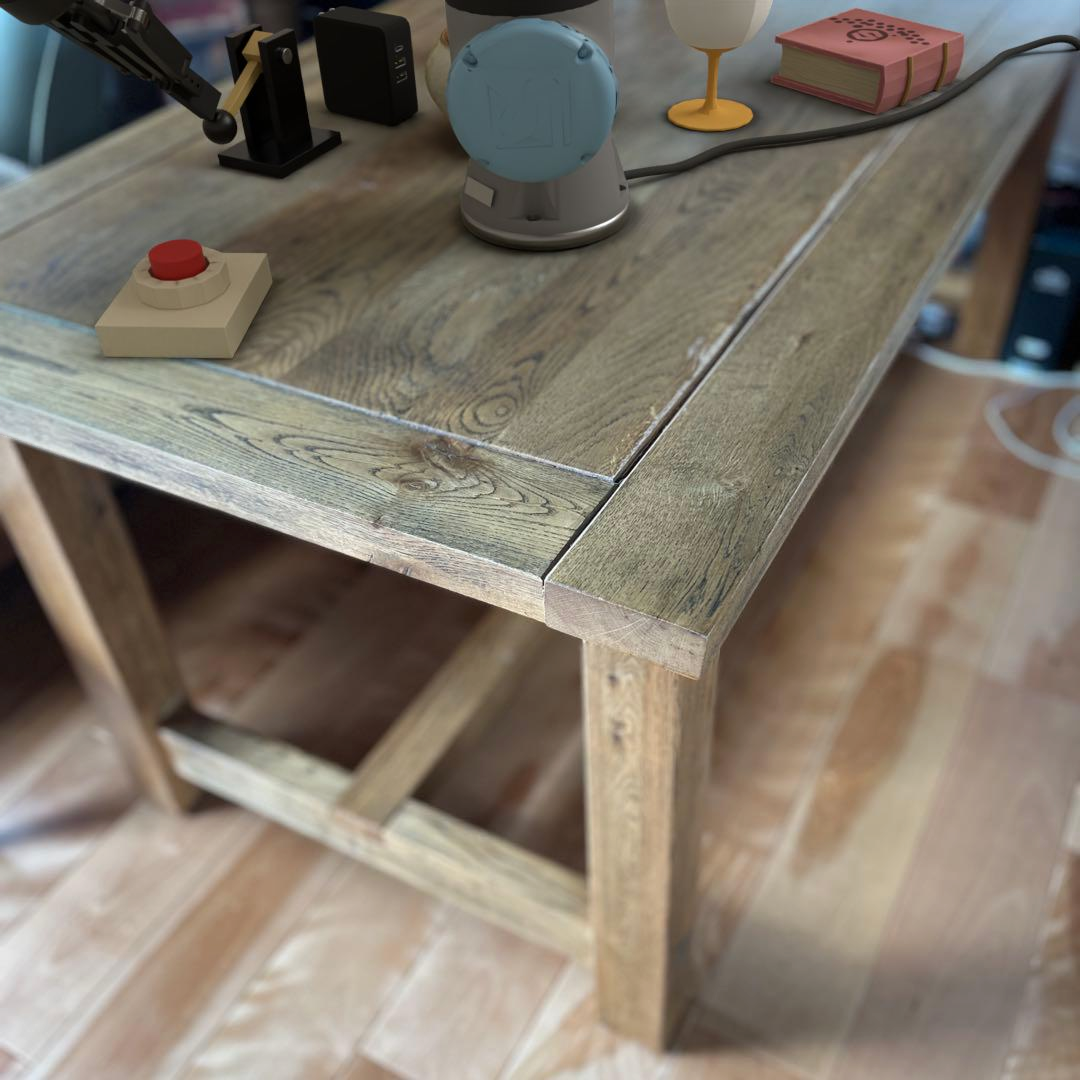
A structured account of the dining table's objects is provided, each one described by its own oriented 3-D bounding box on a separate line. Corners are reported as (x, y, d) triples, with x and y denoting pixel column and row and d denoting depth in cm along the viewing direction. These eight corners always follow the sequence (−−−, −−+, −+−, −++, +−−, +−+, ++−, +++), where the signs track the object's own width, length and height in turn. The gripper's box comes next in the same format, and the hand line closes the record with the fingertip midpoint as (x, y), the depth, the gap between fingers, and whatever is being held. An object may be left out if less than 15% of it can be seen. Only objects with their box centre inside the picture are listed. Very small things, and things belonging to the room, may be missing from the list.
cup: (717, 89, 124) (729, -82, 113) (788, 119, 117) (809, -61, 106) (632, 112, 120) (636, -64, 109) (701, 145, 112) (713, -40, 101)
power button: (163, 259, 87) (158, 238, 86) (213, 259, 87) (208, 238, 86) (146, 283, 84) (140, 262, 83) (197, 284, 84) (192, 262, 83)
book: (883, 116, 117) (891, 67, 113) (770, 82, 125) (775, 35, 122) (961, 82, 123) (971, 35, 120) (849, 52, 132) (855, 7, 129)
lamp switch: (282, 178, 109) (259, 53, 101) (219, 165, 112) (192, 42, 104) (342, 143, 115) (324, 22, 108) (281, 131, 118) (260, 13, 111)
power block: (156, 281, 93) (142, 231, 90) (273, 282, 93) (262, 232, 90) (104, 357, 84) (86, 304, 81) (232, 358, 84) (219, 305, 81)
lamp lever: (233, 154, 105) (216, 131, 103) (208, 148, 107) (189, 125, 104) (290, 55, 108) (274, 30, 105) (264, 51, 109) (248, 26, 107)
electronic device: (395, 127, 118) (383, 28, 112) (325, 111, 123) (310, 14, 116) (419, 115, 121) (409, 17, 114) (350, 99, 125) (337, 4, 119)
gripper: (-68, -11, 84) (146, 133, 106) (56, 9, 79) (253, 155, 101) (-36, -105, 84) (171, 58, 106) (89, -91, 79) (279, 77, 101)
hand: (211, 105), depth 103 cm, fingers closed
